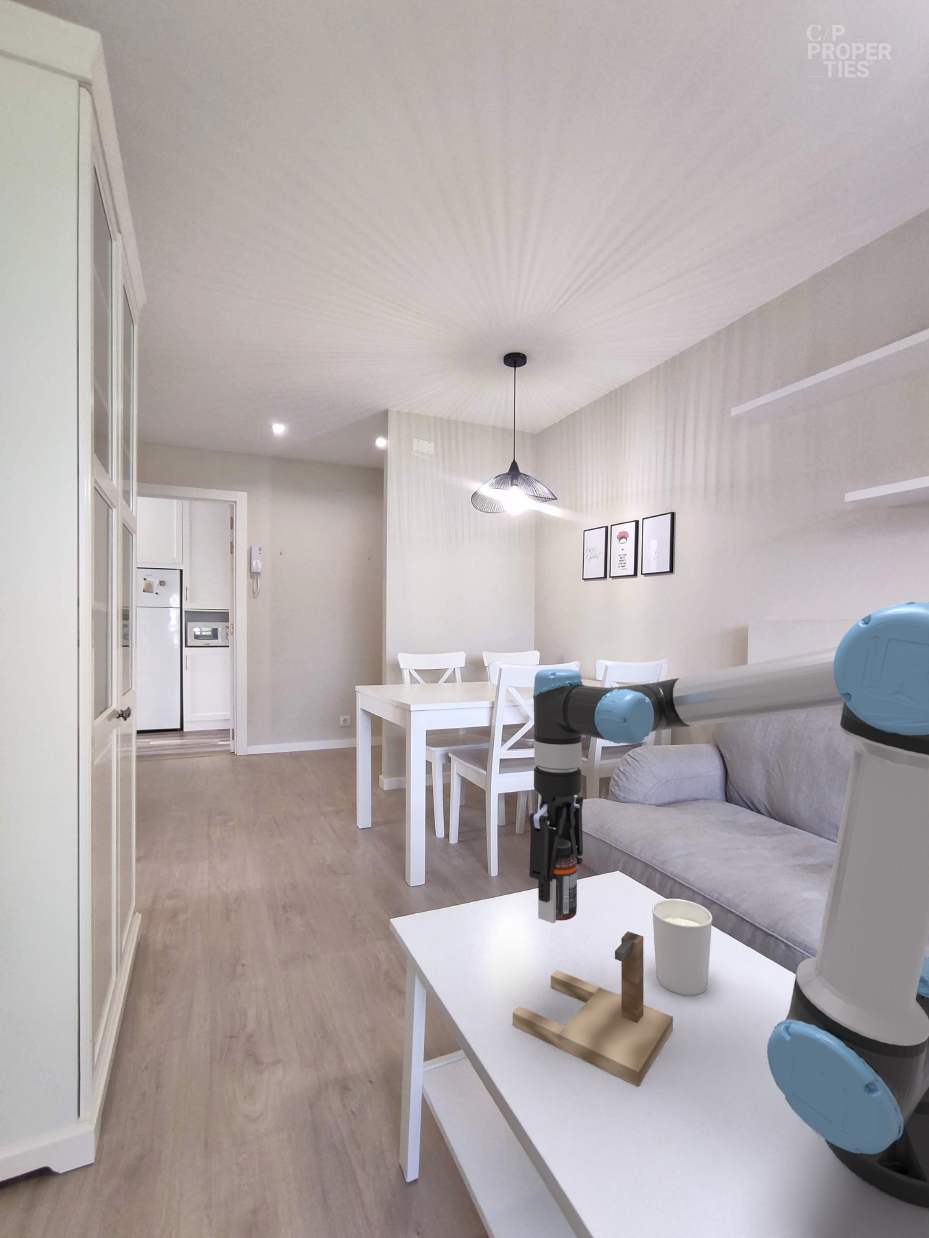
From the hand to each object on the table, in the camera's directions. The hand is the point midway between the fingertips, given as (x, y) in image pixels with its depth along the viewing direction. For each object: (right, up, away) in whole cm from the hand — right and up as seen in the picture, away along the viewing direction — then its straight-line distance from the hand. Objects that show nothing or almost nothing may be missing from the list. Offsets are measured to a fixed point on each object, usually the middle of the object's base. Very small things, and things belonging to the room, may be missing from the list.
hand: (557, 911), depth 95 cm
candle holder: (+23, -16, +8) cm, 29 cm away
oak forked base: (+5, -16, -4) cm, 17 cm away
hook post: (+10, -14, -5) cm, 18 cm away
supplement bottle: (0, 0, 0) cm, 0 cm away
